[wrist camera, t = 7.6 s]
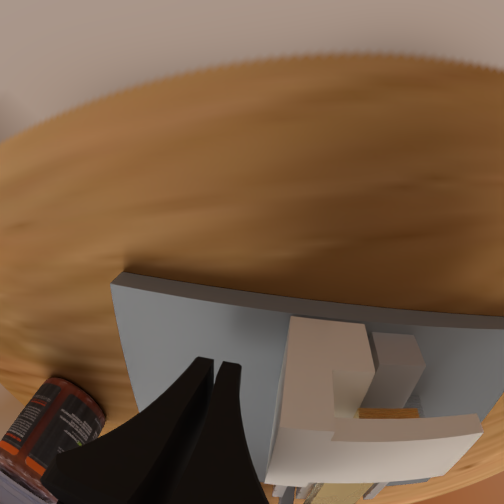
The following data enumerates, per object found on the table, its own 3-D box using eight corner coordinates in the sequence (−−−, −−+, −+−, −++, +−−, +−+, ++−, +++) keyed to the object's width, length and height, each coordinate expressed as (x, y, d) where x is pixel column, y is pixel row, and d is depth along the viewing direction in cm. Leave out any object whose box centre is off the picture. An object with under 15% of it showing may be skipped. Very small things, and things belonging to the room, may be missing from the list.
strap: (329, 517, 15) (329, 527, 14) (294, 516, 15) (293, 526, 14) (417, 408, 9) (421, 424, 9) (357, 407, 10) (359, 425, 9)
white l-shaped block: (415, 392, 13) (437, 481, 8) (278, 384, 14) (264, 483, 9) (447, 329, 11) (491, 423, 7) (290, 316, 12) (279, 427, 7)
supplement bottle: (41, 386, 21) (-24, 475, 11) (58, 363, 19) (-26, 472, 8) (93, 430, 22) (40, 525, 12) (119, 415, 20) (56, 533, 10)
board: (424, 470, 18) (432, 526, 13) (159, 447, 21) (135, 505, 16) (530, 317, 12) (579, 385, 7) (122, 271, 14) (50, 344, 9)
